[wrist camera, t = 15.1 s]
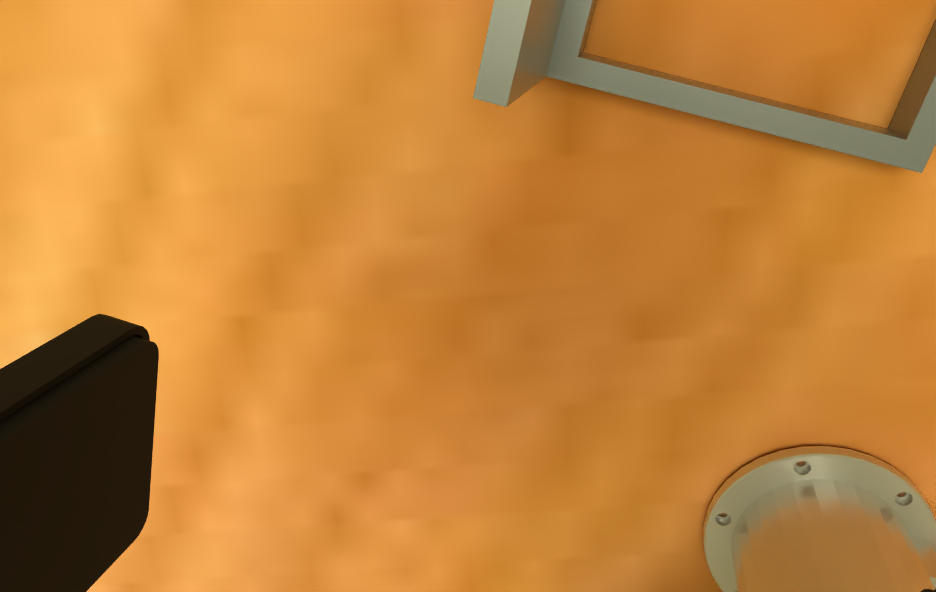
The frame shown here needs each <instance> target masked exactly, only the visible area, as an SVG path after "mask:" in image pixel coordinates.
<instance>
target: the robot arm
mask: <svg viewBox="0 0 936 592" xmlns="http://www.w3.org/2000/svg"><path fill="white" fill-rule="evenodd" d="M158 358H159V352H158V347H157V345H156V344H155V343H154V342H151V341H150V339H149V334H148V332H147V330H146V329H145V328H144V327H142V326H139V325H136V324H133V323H130V322H126V321H123V320H120V319H117V318H114V317H111V316H107V315H103V314H97V315H95V316H92V317H90V318H89V319H87V320H85V321H83V322H82V323H80V324H78V325H76V326H75V327H73V328H71V329H69V330H68V331H66V332H64V333H62V334H61V335H59V336H57V337H55V338H54V339H52V340H50V341H48V342H47V343H45V344H43V345H42V346H40V347H38V348H36V349H35V350H33V351H31V352H29V353H28V354H26V355H24V356H22V357H21V358H19V359H17V360H15V361H14V362H12V363H10V364H8V365H7V366H5V367H3V368H1V369H0V592H86V591H87V590H88V589H89V588H90V587H91V586H92V585H93V584H94V583H95V582H96V581H97V580H98V579H99V577H100V576H101V575H102V574H103V573H104V572H105V571H106V570H107V569H108V568H109V567H110V566H111V565H112V564H113V563H114V562H115V561H116V560H117V558H118V557H119V556H120V555H121V554H122V553H123V552H124V551H125V550H126V549H127V548H128V547H129V546H130V545H131V544H132V543H133V542H134V540H135V539H136V538H137V537H138V535H139V534H140V532H141V530H142V529H143V526H144V524H145V522H146V519H147V516H148V510H149V497H150V481H151V466H152V450H153V435H154V419H155V404H156V389H157V373H158ZM800 461H803V462H800ZM703 543H704V550H705V557H706V562H707V564H708V567H709V570H710V572H711V575H712V577H713V578H714V580H715V581H716V583H717V585H718V586H719V588H720V589H721V591H722V592H936V520H935V517H934V515H933V512H932V510H931V508H930V507H929V505H928V503H927V502H926V500H925V498H924V496H923V495H922V493H921V492H920V491H919V490H918V489H917V488H916V486H915V485H914V484H913V483H912V482H911V481H910V480H909V479H908V478H907V477H906V476H905V475H903V474H902V473H900V472H899V471H898V470H896V469H895V468H894V467H892V466H891V465H889V464H887V463H885V462H883V461H881V460H879V459H877V458H875V457H873V456H871V455H867V454H864V453H861V452H857V451H854V450H851V449H845V448H838V447H830V446H802V447H797V448H791V449H785V450H780V451H777V452H774V453H771V454H769V455H766V456H763V457H760V458H758V459H756V460H755V461H753V462H751V463H749V464H747V465H745V466H744V467H742V468H741V469H739V470H738V471H737V472H736V473H734V474H733V475H732V476H731V477H730V478H728V479H727V480H726V481H725V483H724V484H723V485H722V486H721V487H720V489H719V490H718V491H717V492H716V494H715V495H714V497H713V499H712V501H711V503H710V505H709V507H708V509H707V513H706V517H705V521H704V525H703Z"/></svg>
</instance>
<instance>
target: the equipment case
mask: <svg viewBox="0 0 936 592" xmlns="http://www.w3.org/2000/svg"><path fill="white" fill-rule="evenodd" d="M596 1H597V0H494V5H493V9H492V14H491V19H490V23H489V28H488V32H487V37H486V41H485V46H484V51H483V55H482V60H481V64H480V69H479V73H478V78H477V83H476V87H475V92H474V96H473V98H474V99H478V100H482V101H485V102H489V103H493V104H497V105H501V106H504V107H507V106H508V105H510V104H511V103H512V102H514V101H515V100H516V99H517V98H519V97H520V96H521V95H523V94H524V93H525V92H527V91H528V90H529V89H530V88H532V87H533V86H534V85H536V84H537V83H538V82H539V81H541V80H542V79H543V78H545V77H550V78H554V79H558V80H562V81H566V82H570V83H574V84H578V85H581V86H585V87H589V88H593V89H597V90H601V91H605V92H609V93H613V94H616V95H620V96H624V97H628V98H632V99H636V100H640V101H644V102H648V103H652V104H655V105H659V106H663V107H667V108H671V109H675V110H679V111H683V112H687V113H690V114H694V115H698V116H702V117H706V118H710V119H714V120H718V121H722V122H725V123H729V124H733V125H737V126H741V127H745V128H749V129H753V130H757V131H761V132H764V133H768V134H772V135H776V136H780V137H784V138H788V139H792V140H796V141H799V142H803V143H807V144H811V145H815V146H819V147H823V148H827V149H831V150H835V151H838V152H842V153H846V154H850V155H854V156H858V157H862V158H866V159H870V160H873V161H877V162H881V163H885V164H889V165H893V166H897V167H901V168H905V169H908V170H912V171H916V172H920V173H922V172H923V170H924V168H925V165H926V163H927V161H928V159H929V157H930V155H931V153H932V150H933V148H934V146H935V144H936V20H935V22H934V25H933V27H932V29H931V31H930V34H929V36H928V38H927V41H926V43H925V45H924V47H923V50H922V52H921V54H920V57H919V59H918V61H917V63H916V66H915V68H914V70H913V72H912V75H911V77H910V79H909V82H908V84H907V86H906V88H905V91H904V93H903V95H902V98H901V100H900V102H899V104H898V107H897V109H896V111H895V113H894V116H893V118H892V120H891V123H890V125H889V127H888V129H885V128H881V127H877V126H873V125H869V124H865V123H861V122H857V121H853V120H849V119H845V118H841V117H837V116H833V115H829V114H825V113H821V112H817V111H813V110H809V109H805V108H801V107H797V106H793V105H789V104H785V103H781V102H777V101H773V100H769V99H766V98H762V97H758V96H754V95H750V94H746V93H742V92H738V91H734V90H730V89H726V88H722V87H718V86H714V85H710V84H706V83H702V82H698V81H694V80H690V79H686V78H682V77H678V76H674V75H670V74H666V73H662V72H658V71H654V70H650V69H646V68H642V67H638V66H634V65H630V64H626V63H622V62H619V61H615V60H611V59H607V58H603V57H599V56H595V55H591V54H587V53H583V50H584V46H585V42H586V39H587V35H588V31H589V27H590V24H591V20H592V16H593V13H594V9H595V5H596Z"/></svg>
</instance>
